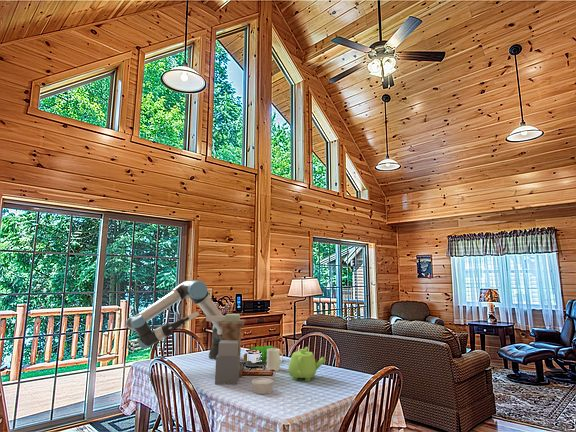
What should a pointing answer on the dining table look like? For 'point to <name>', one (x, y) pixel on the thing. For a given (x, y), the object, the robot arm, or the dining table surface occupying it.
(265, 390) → the ramekin
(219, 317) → the handled block
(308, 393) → the dining table surface
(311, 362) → the teapot
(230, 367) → the stepped grey block
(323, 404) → the dining table surface
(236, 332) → the walnut stand
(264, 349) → the decorative tree
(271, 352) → the mug
